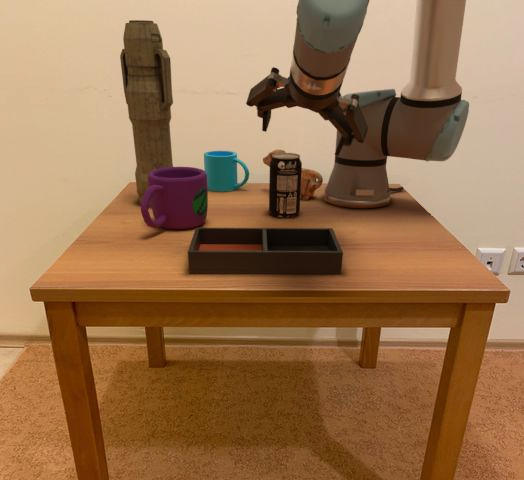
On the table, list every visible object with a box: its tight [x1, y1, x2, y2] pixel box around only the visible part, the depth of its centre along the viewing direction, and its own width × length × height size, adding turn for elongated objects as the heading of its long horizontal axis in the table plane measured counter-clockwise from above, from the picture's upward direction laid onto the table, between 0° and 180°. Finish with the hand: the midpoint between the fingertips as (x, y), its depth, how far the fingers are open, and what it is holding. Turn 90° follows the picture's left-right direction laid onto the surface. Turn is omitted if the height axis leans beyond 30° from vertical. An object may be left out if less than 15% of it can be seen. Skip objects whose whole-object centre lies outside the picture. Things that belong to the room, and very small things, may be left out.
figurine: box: [262, 149, 324, 201], centre depth 121 cm, size 7×16×10 cm, turn 58°
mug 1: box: [140, 166, 209, 230], centre depth 99 cm, size 17×11×10 cm, turn 154°
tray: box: [187, 226, 344, 275], centre depth 85 cm, size 12×24×4 cm, turn 91°
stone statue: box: [119, 19, 174, 208], centre depth 108 cm, size 9×12×35 cm
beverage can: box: [268, 152, 303, 218], centre depth 107 cm, size 7×7×12 cm
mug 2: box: [203, 150, 250, 192], centre depth 127 cm, size 12×8×8 cm
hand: (302, 136), depth 91 cm, fingers open, 13 cm apart
